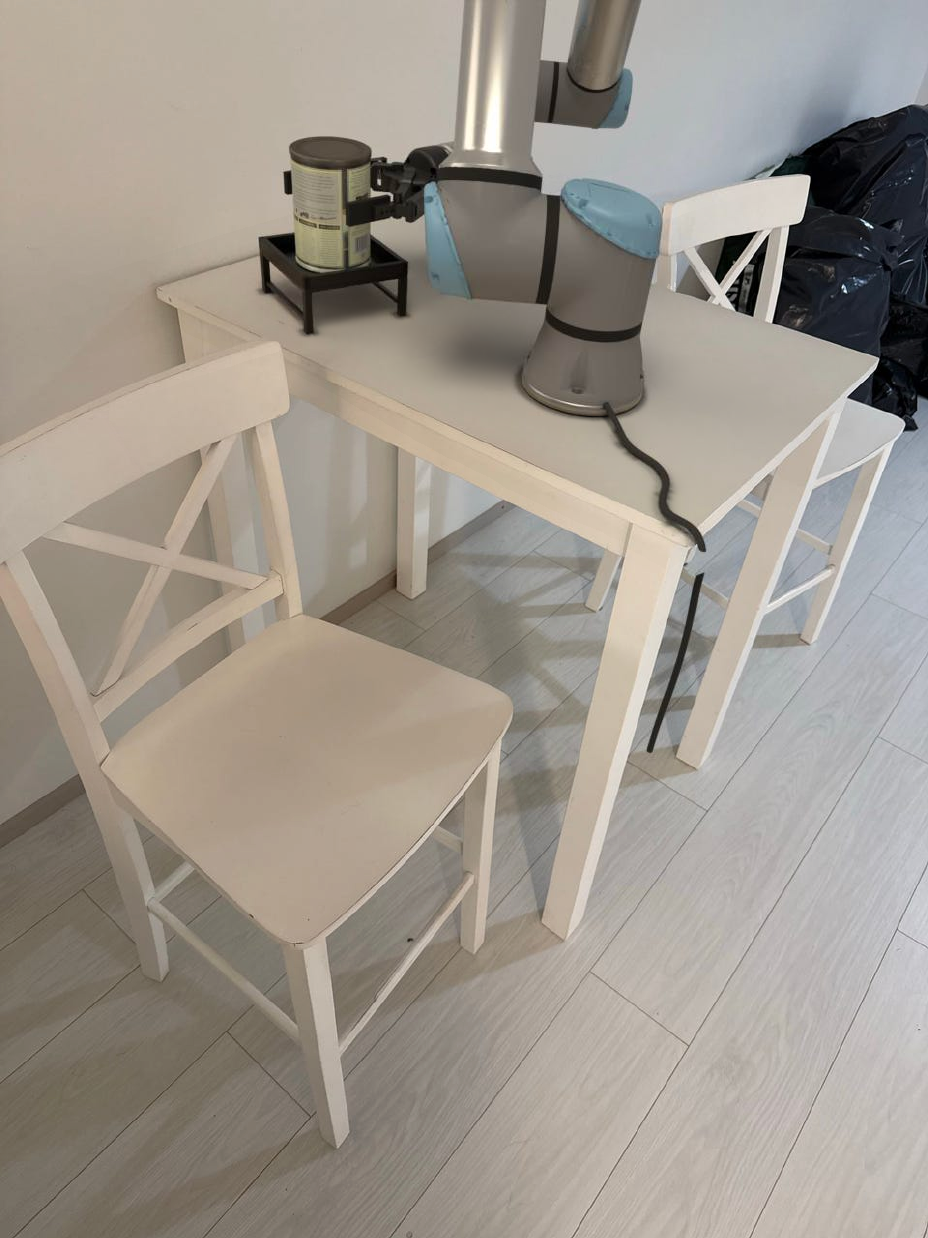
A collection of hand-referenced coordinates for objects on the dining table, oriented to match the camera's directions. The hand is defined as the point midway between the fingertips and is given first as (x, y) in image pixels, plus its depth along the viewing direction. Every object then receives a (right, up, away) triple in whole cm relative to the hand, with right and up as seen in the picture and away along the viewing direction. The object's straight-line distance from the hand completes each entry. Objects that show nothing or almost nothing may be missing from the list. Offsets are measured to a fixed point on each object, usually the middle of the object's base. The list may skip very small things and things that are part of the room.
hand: (315, 198), depth 116 cm
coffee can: (+1, -5, +7) cm, 9 cm away
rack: (+1, -10, +11) cm, 15 cm away
